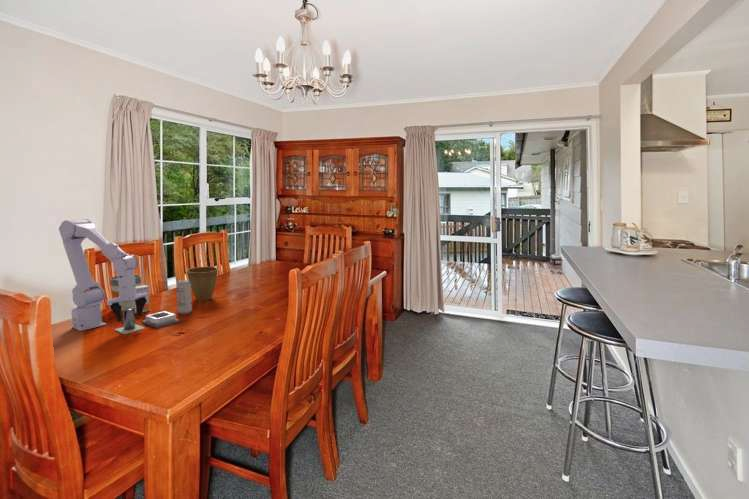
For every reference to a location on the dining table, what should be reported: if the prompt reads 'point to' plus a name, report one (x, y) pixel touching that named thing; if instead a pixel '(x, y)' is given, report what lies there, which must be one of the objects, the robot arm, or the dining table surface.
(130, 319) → the key peg
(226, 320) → the dining table surface
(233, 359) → the dining table surface
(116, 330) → the mat
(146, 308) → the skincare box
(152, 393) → the dining table surface
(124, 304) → the reusable coffee cup
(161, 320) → the socket block
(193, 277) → the plant pot
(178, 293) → the energy drink can
